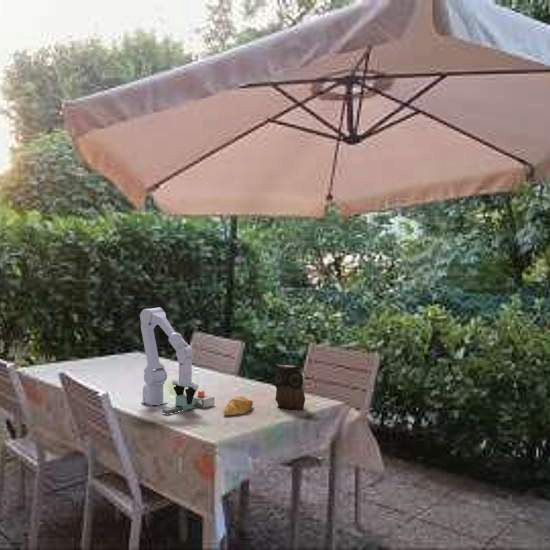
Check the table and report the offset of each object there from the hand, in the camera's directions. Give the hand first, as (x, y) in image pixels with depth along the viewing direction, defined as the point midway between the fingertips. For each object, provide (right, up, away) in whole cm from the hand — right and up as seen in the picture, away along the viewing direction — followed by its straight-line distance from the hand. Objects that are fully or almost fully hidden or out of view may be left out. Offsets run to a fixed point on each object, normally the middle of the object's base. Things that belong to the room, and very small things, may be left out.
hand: (185, 403), depth 320 cm
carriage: (0, -3, 0) cm, 3 cm away
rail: (-2, -3, -2) cm, 4 cm away
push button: (+6, 0, +8) cm, 10 cm away
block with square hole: (+6, -3, +8) cm, 11 cm away
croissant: (+24, -4, -2) cm, 24 cm away
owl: (+48, -3, +7) cm, 49 cm away
